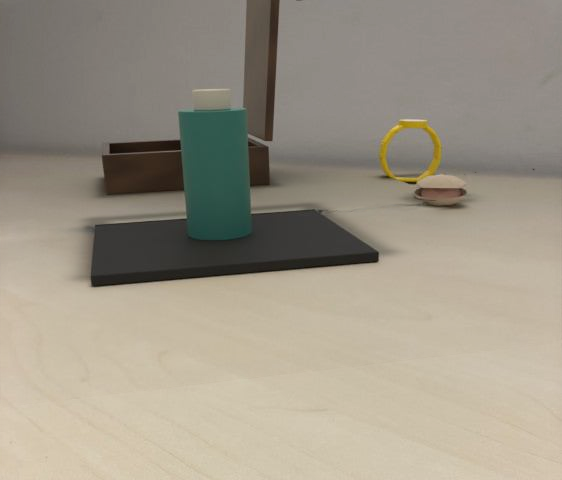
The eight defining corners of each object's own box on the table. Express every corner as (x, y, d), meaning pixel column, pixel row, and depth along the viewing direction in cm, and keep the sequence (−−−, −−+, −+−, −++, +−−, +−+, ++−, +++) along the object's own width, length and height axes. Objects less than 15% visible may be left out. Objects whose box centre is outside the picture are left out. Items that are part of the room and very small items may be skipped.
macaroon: (412, 208, 58) (413, 177, 57) (416, 198, 62) (417, 168, 61) (465, 209, 57) (468, 177, 56) (466, 198, 61) (468, 169, 60)
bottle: (191, 242, 46) (179, 91, 42) (185, 229, 50) (173, 90, 46) (257, 237, 47) (251, 89, 43) (246, 225, 51) (239, 87, 47)
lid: (273, -59, 60) (336, -52, 61) (247, -39, 71) (301, -33, 72) (264, 141, 66) (321, 143, 67) (242, 131, 77) (291, 133, 78)
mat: (91, 286, 39) (90, 276, 39) (96, 226, 55) (95, 219, 54) (379, 261, 43) (379, 251, 42) (308, 211, 58) (307, 204, 58)
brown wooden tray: (107, 202, 65) (101, 155, 63) (107, 183, 76) (102, 142, 74) (270, 191, 68) (268, 146, 66) (247, 175, 79) (245, 135, 77)
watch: (383, 185, 69) (384, 121, 67) (376, 181, 72) (377, 120, 69) (442, 183, 70) (445, 119, 67) (433, 179, 72) (436, 117, 70)
